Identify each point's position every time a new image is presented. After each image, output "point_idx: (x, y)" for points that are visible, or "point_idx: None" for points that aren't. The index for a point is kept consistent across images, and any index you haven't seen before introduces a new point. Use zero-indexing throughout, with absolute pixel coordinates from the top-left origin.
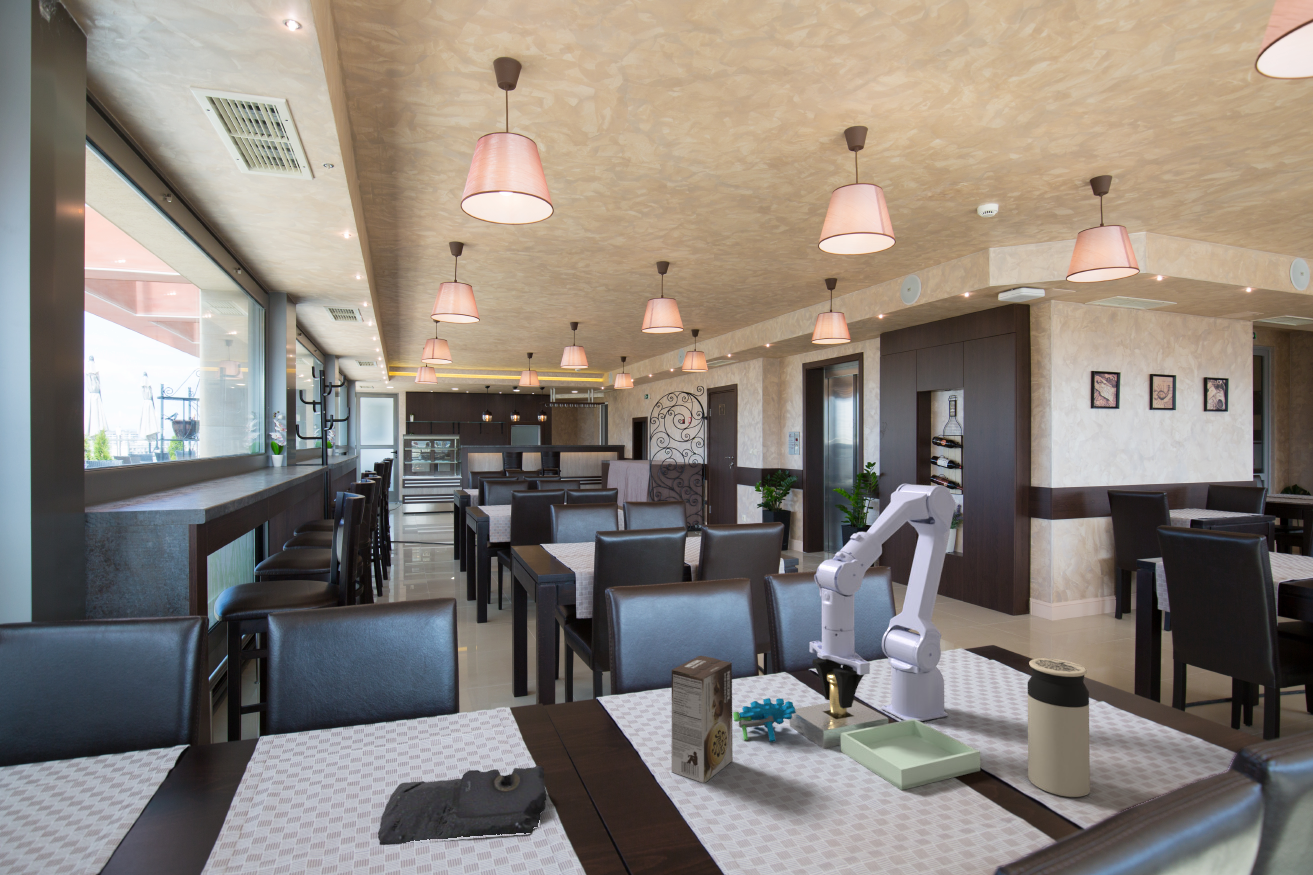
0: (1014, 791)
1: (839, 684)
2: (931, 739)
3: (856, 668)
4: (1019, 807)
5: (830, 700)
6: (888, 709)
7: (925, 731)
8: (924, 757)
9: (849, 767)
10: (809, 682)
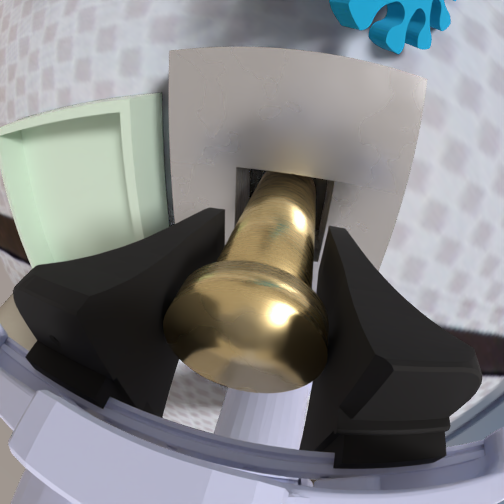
0: (25, 257)
1: (137, 253)
2: None
3: (16, 360)
4: (3, 229)
5: (285, 213)
6: None
7: None
8: (80, 238)
9: (91, 65)
10: (500, 346)
